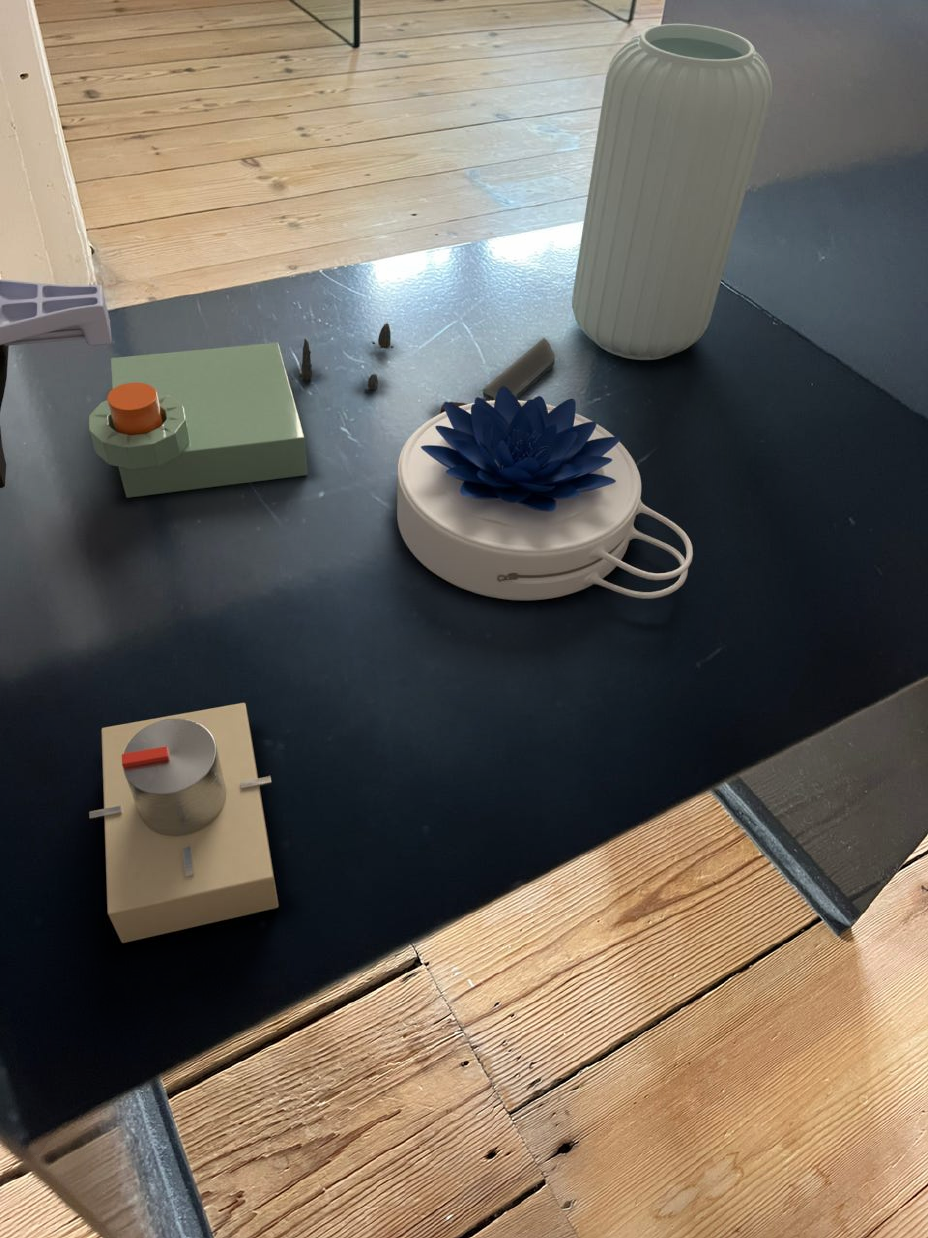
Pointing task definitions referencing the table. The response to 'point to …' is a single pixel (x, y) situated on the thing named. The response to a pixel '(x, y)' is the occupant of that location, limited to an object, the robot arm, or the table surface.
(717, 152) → the vase
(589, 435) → the round zippered pouch
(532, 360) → the knife
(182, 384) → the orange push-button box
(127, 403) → the push button
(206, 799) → the dial
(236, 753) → the beige rotary knob box
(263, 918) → the table surface
